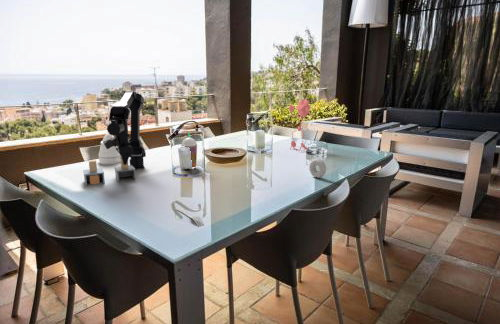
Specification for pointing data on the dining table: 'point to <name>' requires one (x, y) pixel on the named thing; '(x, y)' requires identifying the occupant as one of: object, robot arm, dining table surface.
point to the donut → (321, 168)
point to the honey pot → (108, 152)
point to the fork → (190, 216)
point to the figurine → (302, 110)
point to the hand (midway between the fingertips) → (124, 163)
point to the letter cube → (94, 179)
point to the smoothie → (191, 148)
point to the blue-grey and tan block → (93, 171)
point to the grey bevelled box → (124, 171)
